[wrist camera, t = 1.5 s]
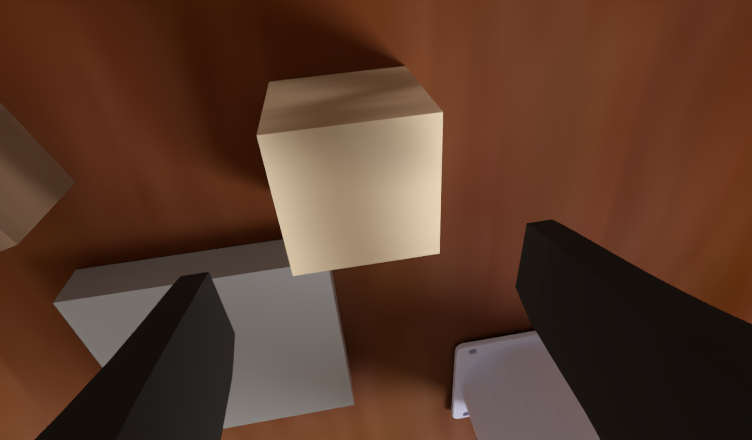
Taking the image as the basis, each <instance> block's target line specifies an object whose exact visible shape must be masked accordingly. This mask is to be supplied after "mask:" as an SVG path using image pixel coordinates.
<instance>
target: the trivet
mask: <svg viewBox="0 0 752 440" xmlns="http://www.w3.org/2000/svg"><path fill="white" fill-rule="evenodd" d="M204 272H209V273H210V275H211V278H212V280H213V282H214V285H215V287H216V289H217V292H218V294H219V297H220V299H221V301H222V304H223V306H224V308H225V311H226V313H227V315H228V318H229V320H230V323H231V325H232V327H233V330H234V332H235V344H234V362H233V375H232V382H231V388H230V393H229V398H228V404H227V409H226V414H225V420H224V425H223V429H224V428H229V427H235V426H240V425H246V424H251V423H257V422H262V421H268V420H273V419H279V418H284V417H290V416H295V415H301V414H306V413H312V412H317V411H323V410H328V409H334V408H339V407H345V406H350V405H354V397H353V388H352V379H351V372H350V366H349V361H348V355H347V350H346V344H345V339H344V334H343V328H342V323H341V317H340V312H339V306H338V301H337V295H336V290H335V284H334V279H333V273H332V270H329V271H323V272H316V273H310V274H303V275H297V276H293V275H292V271H291V267H290V263H289V259H288V255H287V251H286V248H285V244H284V240H283V239H281V240H274V241H268V242H261V243H254V244H247V245H240V246H234V247H227V248H220V249H213V250H206V251H200V252H193V253H186V254H179V255H172V256H166V257H159V258H152V259H145V260H138V261H132V262H125V263H118V264H111V265H104V266H98V267H91V268H84V269H77V270H75V271H74V273H73V274H72V276H71V277H70V279H69V280H68V282H67V283H66V284H65V286H64V287H63V289H62V290H61V292H60V293H59V295H58V296H57V298H56V299H55V301H54V302H53V304H54V305H55V307H56V308H57V309H58V310H59V312H60V313H61V314H62V316H63V317H64V318H65V320H66V321H67V322H68V323H69V325H70V326H71V327H72V329H73V330H74V331H75V333H76V334H77V335H78V336H79V338H80V339H81V340H82V342H83V343H84V344H85V346H86V347H87V348H88V349H89V351H90V352H91V353H92V355H93V356H94V357H95V359H96V360H97V361H98V362H99V364H100V365H101V366H102V368H103V367H104V366H105V365H106V363H107V362H108V361H109V360H110V359H111V358H112V357H113V356H114V354H115V353H116V352H117V351H118V350H119V348H120V347H121V346H122V345H123V344H124V343H125V341H126V340H127V339H128V338H129V337H130V336H131V334H132V333H133V332H134V331H135V330H136V328H137V327H138V326H139V325H140V324H141V323H142V321H143V320H144V319H145V318H146V317H147V315H148V314H149V313H150V312H151V310H152V309H153V308H154V307H155V306H156V304H157V303H158V302H159V301H160V300H161V298H162V297H163V296H164V295H165V293H166V292H167V291H168V290H169V289H170V287H171V286H172V285H173V284H174V283H175V282H176V280H177V279H178V278H179V277H180V276H184V275H191V274H197V273H204Z"/></svg>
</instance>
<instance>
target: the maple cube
mask: <svg viewBox="0 0 752 440" xmlns="http://www.w3.org/2000/svg"><path fill="white" fill-rule="evenodd" d="M442 131H443V111H442V110H441V109H440V108H439V107H438V105H437V104H436V103H435V102H434V100H433V99H432V98H431V97H430V95H429V94H428V93H427V92H426V91H425V89H424V88H423V87H422V86H421V84H420V83H419V82H418V81H417V80H416V78H415V77H414V76H413V75H412V73H411V72H410V71H409V70H408V68H407V67H406V66H401V67H392V68H383V69H375V70H366V71H357V72H349V73H340V74H331V75H323V76H314V77H305V78H296V79H288V80H279V81H270V82H269V84H268V88H267V93H266V97H265V101H264V105H263V110H262V114H261V118H260V122H259V127H258V131H257V135H256V136H257V139H258V143H259V147H260V151H261V155H262V159H263V163H264V166H265V170H266V174H267V178H268V182H269V186H270V190H271V194H272V197H273V201H274V205H275V209H276V213H277V217H278V221H279V224H280V228H281V232H282V236H283V240H284V244H285V248H286V251H287V255H288V259H289V263H290V267H291V271H292V275H293V276H297V275H303V274H310V273H316V272H323V271H329V270H336V269H342V268H349V267H355V266H362V265H368V264H375V263H381V262H388V261H394V260H401V259H407V258H414V257H420V256H427V255H433V254H440V214H441V173H442Z"/></svg>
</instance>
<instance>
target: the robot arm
mask: <svg viewBox="0 0 752 440" xmlns="http://www.w3.org/2000/svg"><path fill="white" fill-rule="evenodd" d="M516 289H517V292H518V294H519V296H520V299H521V301H522V304H523V306H524V308H525V310H526V313H527V315H528V317H529V319H530V321H531V323H532V325H533V327H534V329H535V331H530V332H525V333H519V334H513V335H507V336H501V337H496V338H490V339H484V340H478V341H473V342H467V343H462V344H459V345H458V346H457V347H456V349H455V359H454V375H453V391H452V406H451V413H452V416H453V417H454V418H456V419H459V418H464V417H470V420H471V423H472V426H473V428H474V431H475V434H476V437H477V440H752V324H750V323H748V322H746V321H744V320H741V319H739V318H737V317H735V316H732V315H730V314H728V313H726V312H724V311H722V310H719V309H717V308H715V307H713V306H711V305H709V304H707V303H705V302H703V301H701V300H699V299H697V298H695V297H693V296H691V295H689V294H687V293H685V292H683V291H681V290H679V289H677V288H675V287H673V286H671V285H669V284H668V283H666V282H664V281H662V280H660V279H658V278H656V277H654V276H653V275H651V274H649V273H647V272H645V271H643V270H642V269H640V268H638V267H636V266H634V265H633V264H631V263H629V262H627V261H625V260H624V259H622V258H620V257H618V256H617V255H615V254H613V253H611V252H610V251H608V250H606V249H604V248H603V247H601V246H599V245H598V244H596V243H594V242H592V241H591V240H589V239H587V238H585V237H584V236H582V235H580V234H578V233H577V232H575V231H573V230H571V229H569V228H568V227H566V226H564V225H562V224H560V223H558V222H556V221H554V220H546V221H539V222H533V223H527V226H526V231H525V237H524V243H523V248H522V254H521V259H520V265H519V271H518V276H517V282H516ZM234 344H235V332H234V330H233V327H232V325H231V323H230V320H229V318H228V315H227V313H226V311H225V308H224V306H223V304H222V301H221V299H220V297H219V294H218V292H217V289H216V287H215V285H214V282H213V280H212V278H211V275H210V273H209V272H204V273H197V274H191V275H184V276H180V277H179V278H178V279H177V280H176V282H175V283H174V284H173V285H172V286H171V287H170V289H169V290H168V291H167V292H166V293H165V295H164V296H163V297H162V298H161V300H160V301H159V302H158V303H157V304H156V306H155V307H154V308H153V309H152V310H151V312H150V313H149V314H148V315H147V317H146V318H145V319H144V320H143V321H142V323H141V324H140V325H139V326H138V327H137V328H136V330H135V331H134V332H133V333H132V334H131V336H130V337H129V338H128V339H127V340H126V341H125V343H124V344H123V345H122V346H121V347H120V348H119V350H118V351H117V352H116V353H115V354H114V356H113V357H112V358H111V359H110V360H109V361H108V362H107V363H106V365H105V366H104V367H103V368H102V369H101V370H100V371H99V372H98V373H97V374H96V375H95V377H94V378H93V379H92V380H91V381H90V382H89V383H88V384H87V385H86V386H85V387H84V388H83V390H82V391H81V392H80V393H79V394H78V395H77V396H76V397H75V398H74V399H73V400H72V402H71V403H70V404H69V405H68V406H67V407H66V408H65V409H64V410H63V411H62V412H61V413H60V414H59V415H58V416H57V417H56V418H55V419H54V421H53V422H52V423H51V424H50V425H49V426H48V427H47V428H46V429H45V430H44V431H43V432H42V433H41V434H40V435H39V436H38V437H37V438H36V439H35V440H221V435H222V430H223V425H224V420H225V414H226V409H227V404H228V398H229V393H230V388H231V382H232V375H233V362H234Z"/></svg>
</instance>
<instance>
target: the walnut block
mask: <svg viewBox="0 0 752 440" xmlns="http://www.w3.org/2000/svg"><path fill="white" fill-rule="evenodd" d="M75 183H76V182H75V181H74V180H73V179H72V178H71V177H70V176H69V175H68V174H67V172H66V171H65V170H64V169H63V168H62V167H61V166H60V165H59V164H58V163H57V162H56V161H55V160H54V159H53V158H52V157H51V156H50V154H49V153H48V152H47V151H46V150H45V149H44V148H43V147H42V146H41V145H40V144H39V143H38V142H37V141H36V140H35V139H34V138H33V136H32V135H31V134H30V133H29V132H28V131H27V130H26V129H25V128H24V127H23V126H22V125H21V124H20V123H19V122H18V121H17V120H16V118H15V117H14V116H13V115H12V114H11V113H10V112H9V111H8V110H7V109H6V108H5V107H4V106H3V105H2V104H1V103H0V252H1V251H3V250H6V249H8V248H10V247H13V246H15V245H18V244H19V243H20V242H21V241H22V239H23V238H24V237H25V236H26V235H27V234H28V233H29V232H30V231H31V230H32V229H33V228H34V227H35V226H36V224H37V223H38V222H39V221H40V220H41V219H42V218H43V217H44V216H45V215H46V214H47V213H48V212H49V211H50V210H51V208H52V207H53V206H54V205H55V204H56V203H57V202H58V201H59V200H60V199H61V198H62V197H63V196H64V195H65V194H66V192H67V191H68V190H69V189H70V188H71V187H72V186H73V185H74V184H75Z"/></svg>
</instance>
